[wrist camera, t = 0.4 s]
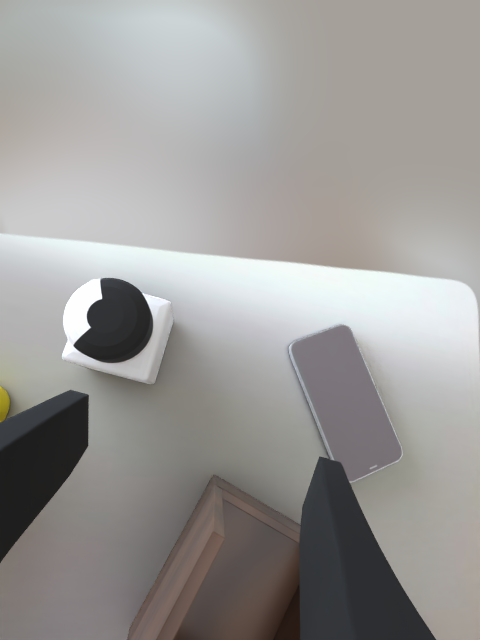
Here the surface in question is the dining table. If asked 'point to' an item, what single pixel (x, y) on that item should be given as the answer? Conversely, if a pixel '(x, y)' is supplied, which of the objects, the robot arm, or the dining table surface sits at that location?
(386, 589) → the robot arm
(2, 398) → the element tile
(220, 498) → the lid
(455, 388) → the dining table surface
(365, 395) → the smartphone
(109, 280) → the medicine bottle
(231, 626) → the box
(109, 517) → the dining table surface
